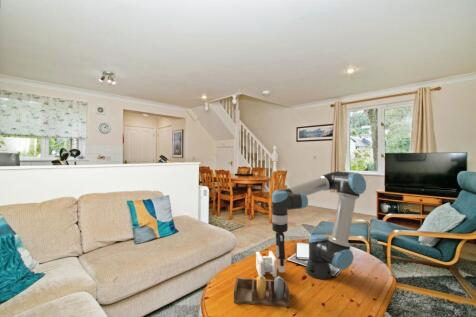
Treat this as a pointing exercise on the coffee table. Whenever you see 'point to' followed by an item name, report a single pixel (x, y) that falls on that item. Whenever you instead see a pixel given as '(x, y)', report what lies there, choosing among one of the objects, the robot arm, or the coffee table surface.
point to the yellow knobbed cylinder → (261, 287)
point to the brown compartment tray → (248, 293)
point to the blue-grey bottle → (279, 288)
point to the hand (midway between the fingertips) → (280, 264)
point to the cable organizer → (266, 264)
